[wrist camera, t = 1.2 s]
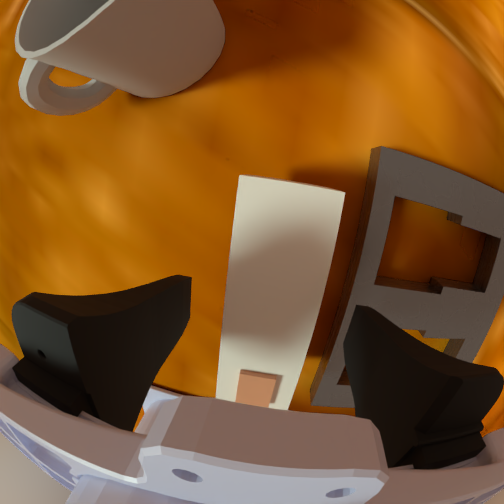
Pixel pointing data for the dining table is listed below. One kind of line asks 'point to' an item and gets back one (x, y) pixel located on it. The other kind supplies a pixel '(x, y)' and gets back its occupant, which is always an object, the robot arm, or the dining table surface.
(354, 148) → the dining table surface
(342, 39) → the dining table surface
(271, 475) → the robot arm
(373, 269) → the keyhole plate
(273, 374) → the power strip
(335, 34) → the dining table surface
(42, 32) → the cup
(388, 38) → the dining table surface
